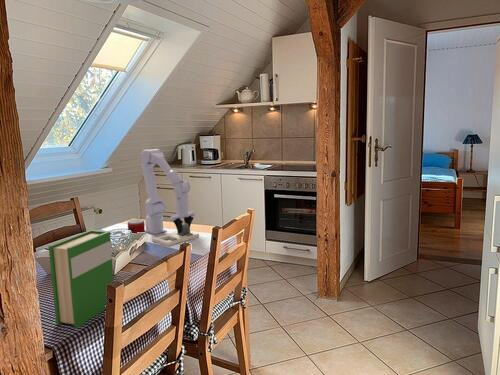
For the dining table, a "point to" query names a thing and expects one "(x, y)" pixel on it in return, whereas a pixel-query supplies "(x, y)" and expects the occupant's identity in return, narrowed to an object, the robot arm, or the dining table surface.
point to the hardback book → (81, 276)
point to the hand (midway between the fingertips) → (183, 231)
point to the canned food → (136, 225)
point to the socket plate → (174, 238)
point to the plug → (185, 229)
